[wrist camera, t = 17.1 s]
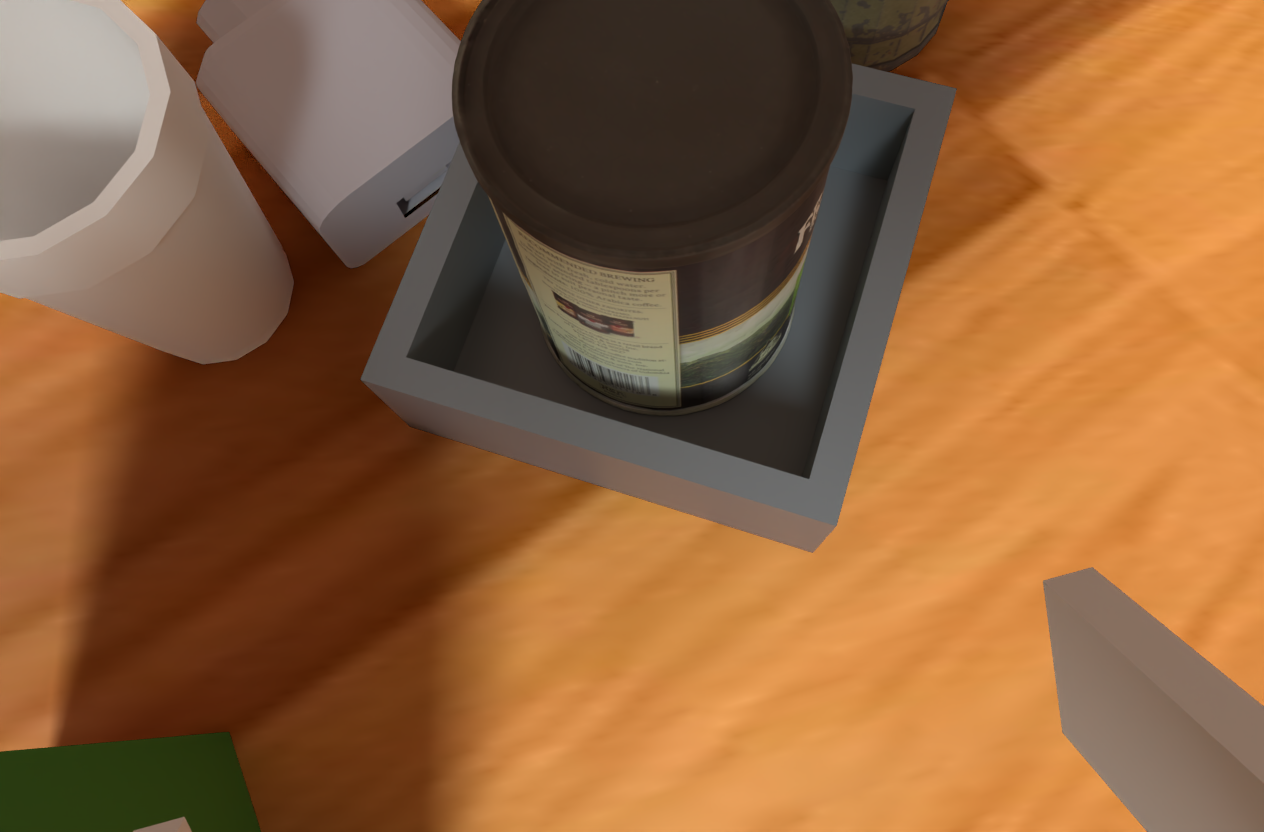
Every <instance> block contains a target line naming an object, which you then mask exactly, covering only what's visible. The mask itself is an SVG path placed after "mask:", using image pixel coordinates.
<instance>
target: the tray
mask: <svg viewBox="0 0 1264 832" xmlns="http://www.w3.org/2000/svg"><path fill="white" fill-rule="evenodd" d="M852 73H853V83H852V101H851V107H850V113H849V117H848V121H847V124H846V128H845V131H844V134H843V137H842V140H841V143H840V145H839V148H838V150H837V152H836V154H835V157H834V159H833V161H832V163H831V164H830V168H829V172H828V176H827V180H826V183H825V188H824V192H823V196H822V199H821V203H820V207H819V211H818V215H817V219H816V223H815V225H814V229H813V232H812V236H811V240H810V244H809V248H808V252H807V256H806V259H805V263H804V267H803V271H802V275H801V279H800V284H799V288H798V291H797V296H796V301H795V310H794V316H793V320H792V324H791V328H790V331H789V333H788V336H787V338H786V341H785V343H784V345H783V347H782V349H781V351H780V352H779V354H778V355H777V357H776V359H775V361H774V362H773V363H772V364H771V366H770V367H769V368H768V369H767V371H766V372H765V373H764V374H763V375H762V376H761V377H759V378H758V379H757V380H756V381H755V382H754V383H753V384H752V385H751V386H749V387H748V388H747V389H745V390H744V391H742V392H741V393H739V394H738V395H736V396H735V397H733V398H731V399H730V400H728V401H726V402H724V403H721V404H719V405H717V406H714V407H711V408H709V409H706V410H703V411H698V412H693V413H689V414H685V415H679V416H657V415H647V414H639V413H635V412H631V411H627V410H623V409H620V408H618V407H615V406H612V405H610V404H608V403H606V402H603V401H601V400H600V399H598V398H596V397H594V396H593V395H591V394H589V393H588V392H586V391H585V390H583V389H581V388H580V387H579V386H578V385H577V384H576V383H575V382H574V381H573V380H572V379H571V378H570V377H569V376H568V375H567V374H566V373H565V372H564V371H563V369H562V368H561V367H560V365H559V364H558V363H557V362H556V360H555V358H554V357H553V355H552V353H551V352H550V350H549V348H548V346H547V344H546V341H545V338H544V336H543V333H542V330H541V327H540V321H539V318H538V315H537V313H536V310H535V308H534V306H533V303H532V301H531V298H530V296H529V294H528V291H527V289H526V286H525V284H524V282H523V280H522V278H521V276H520V273H519V270H518V268H517V265H516V263H515V260H514V258H513V255H512V253H511V251H510V248H509V246H508V243H507V241H506V238H505V236H504V233H503V231H502V229H501V226H500V224H499V221H498V219H497V217H496V214H495V212H494V209H493V207H492V204H491V202H490V199H489V197H488V195H487V194H486V192H485V191H484V190H483V188H482V187H481V185H480V184H479V182H478V181H477V179H476V177H475V175H474V173H473V171H472V169H471V167H470V165H469V163H468V161H467V158H466V156H465V154H464V151H463V149H462V146H461V143H460V142H459V144H458V147H457V149H456V152H455V154H454V156H453V159H452V161H451V164H450V166H449V168H448V171H447V173H446V175H445V178H444V180H443V183H442V185H441V187H440V190H439V192H438V195H437V197H436V199H435V202H434V204H433V207H432V209H431V211H430V214H429V216H428V219H427V221H426V223H425V226H424V228H423V230H422V233H421V235H420V238H419V240H418V242H417V245H416V247H415V250H414V252H413V254H412V257H411V259H410V262H409V264H408V266H407V269H406V271H405V274H404V276H403V278H402V281H401V283H400V286H399V288H398V290H397V293H396V295H395V297H394V300H393V302H392V305H391V307H390V309H389V312H388V314H387V317H386V319H385V321H384V324H383V326H382V329H381V331H380V333H379V336H378V338H377V341H376V343H375V345H374V348H373V350H372V352H371V355H370V357H369V360H368V362H367V364H366V367H365V369H364V372H363V374H362V376H361V379H360V380H361V381H362V382H363V383H364V384H365V385H366V386H367V387H369V388H370V389H371V390H372V391H373V392H374V393H375V394H376V395H377V396H378V397H379V398H380V399H381V400H382V401H383V402H384V403H385V404H387V405H388V406H389V407H390V408H391V409H392V410H393V411H394V412H395V413H396V414H397V415H398V416H399V417H400V418H401V419H402V420H403V421H404V422H406V423H407V424H408V425H409V426H410V427H413V428H416V429H419V430H423V431H426V432H429V433H432V434H435V435H439V436H442V437H445V438H448V439H451V440H455V441H458V442H461V443H464V444H467V445H471V446H474V447H477V448H480V449H483V450H487V451H490V452H493V453H496V454H499V455H502V456H506V457H509V458H512V459H515V460H518V461H522V462H525V463H528V464H531V465H534V466H538V467H541V468H544V469H547V470H550V471H554V472H557V473H560V474H563V475H566V476H570V477H573V478H576V479H579V480H582V481H586V482H589V483H592V484H595V485H598V486H602V487H605V488H608V489H611V490H614V491H617V492H621V493H624V494H627V495H630V496H633V497H637V498H640V499H643V500H646V501H649V502H653V503H656V504H659V505H662V506H665V507H669V508H672V509H675V510H678V511H681V512H685V513H688V514H691V515H694V516H697V517H701V518H704V519H707V520H710V521H713V522H717V523H720V524H723V525H726V526H729V527H732V528H736V529H739V530H742V531H745V532H748V533H752V534H755V535H758V536H761V537H764V538H768V539H771V540H774V541H777V542H780V543H784V544H787V545H790V546H793V547H796V548H800V549H803V550H806V551H809V552H812V553H813V552H814V551H815V550H816V549H817V547H818V546H819V545H820V544H821V543H822V542H823V541H824V540H825V538H826V537H827V536H828V535H829V534H830V533H831V532H832V531H833V529H834V528H835V527H836V526H837V522H838V518H839V515H840V511H841V507H842V504H843V500H844V497H845V493H846V489H847V486H848V482H849V478H850V475H851V471H852V467H853V464H854V460H855V457H856V453H857V449H858V446H859V442H860V438H861V435H862V431H863V427H864V424H865V420H866V417H867V413H868V409H869V406H870V402H871V398H872V395H873V391H874V388H875V384H876V380H877V377H878V373H879V369H880V366H881V362H882V358H883V355H884V351H885V348H886V344H887V340H888V337H889V333H890V329H891V326H892V322H893V318H894V315H895V311H896V308H897V304H898V300H899V297H900V293H901V289H902V286H903V282H904V279H905V275H906V271H907V268H908V264H909V260H910V257H911V253H912V249H913V246H914V242H915V239H916V235H917V231H918V228H919V224H920V220H921V217H922V213H923V210H924V206H925V202H926V199H927V195H928V191H929V188H930V184H931V180H932V177H933V173H934V170H935V166H936V162H937V159H938V155H939V151H940V148H941V144H942V140H943V137H944V133H945V130H946V126H947V122H948V119H949V115H950V111H951V108H952V104H953V101H954V97H955V93H956V90H957V89H956V88H952V87H948V86H944V85H940V84H936V83H931V82H927V81H923V80H919V79H915V78H911V77H906V76H902V75H898V74H894V73H890V72H886V71H881V70H877V69H873V68H869V67H865V66H861V65H856V64H852Z"/></svg>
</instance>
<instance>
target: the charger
mask: <svg viewBox="0 0 1264 832" xmlns="http://www.w3.org/2000/svg"><path fill="white" fill-rule="evenodd" d="M197 24H198V25H199V27H200V28H201V29H202V30H203V31H204V32H205V34H206V35H207V36H208V37H209V38H210V39H211V41H212V42H213V44H212V45H211V46H210V47H209V48H208V49H207V50H206V52H205V54H204V57H203V60H202V64H201V67H200V70H199V73H198V77H197V80H196V85H197V88H198V89H199V90H200V91H201V93H202V94H203V95H204V96H205V98H206V99H207V100H208V101H209V102H210V104H211V105H212V106H213V107H214V109H215V110H216V111H217V112H218V114H219V115H220V116H221V117H222V118H223V120H224V121H225V122H226V123H227V125H228V126H229V127H230V128H231V130H232V131H233V132H234V133H235V134H236V136H237V137H238V138H239V139H240V140H241V141H242V143H243V144H244V145H245V146H246V147H247V149H248V150H249V151H250V152H251V153H252V155H253V156H254V157H255V158H256V159H257V160H258V162H259V163H260V164H261V165H262V166H263V168H264V169H265V170H266V171H267V172H268V174H269V175H270V176H271V177H272V178H273V180H274V181H275V182H276V183H277V184H278V185H279V187H280V188H281V189H282V190H283V191H284V193H285V194H286V195H287V196H288V197H289V199H290V200H291V201H292V202H293V203H294V205H295V206H296V207H297V208H298V209H299V210H300V212H301V213H302V214H303V215H304V216H305V218H306V219H307V220H308V221H309V222H310V224H311V225H312V226H313V227H314V228H315V230H316V231H317V232H318V233H319V234H320V235H321V237H322V238H323V239H324V240H325V241H326V243H327V244H328V245H329V246H330V247H331V249H332V250H333V251H334V252H335V253H336V254H337V256H338V257H339V258H340V259H341V260H342V262H343V263H344V264H345V265H346V266H347V267H349V268H355V267H359V266H361V265H364V264H365V263H366V262H368V261H369V260H370V259H372V258H373V257H374V256H376V255H377V254H378V253H380V252H381V251H382V250H384V249H385V248H386V247H388V246H389V245H390V244H391V243H393V242H394V241H395V240H397V239H398V238H399V237H401V236H402V235H403V234H404V233H406V232H407V231H408V230H410V229H411V228H412V227H414V226H415V225H416V224H417V223H419V222H420V221H421V220H423V219H424V218H425V217H427V216H428V215H429V214H430V211H431V209H432V207H433V204H434V202H435V199H436V197H437V195H438V194H436V195H435V196H434V197H432V198H431V199H430V200H428V201H427V202H426V203H425V204H423V205H422V206H421V207H419V208H418V209H417V210H415V211H414V212H413V213H412V214H410V215H409V216H408V217H406V218H405V217H404V215H405V214H406V213H407V212H408V211H410V210H411V209H412V208H414V207H415V206H416V205H418V204H419V203H420V202H422V201H423V200H424V199H425V198H427V197H428V196H429V195H431V194H432V193H433V192H435V191H436V190H437V189H439V188H440V187H441V185H442V183H443V180H444V178H445V175H446V173H447V171H448V168H449V166H450V164H451V161H452V159H453V156H454V154H455V152H456V149H457V147H458V144H459V142H460V141H459V138H458V135H457V132H456V128H455V124H454V118H453V111H452V79H453V73H454V64H455V60H456V57H457V53H458V49H459V45H460V43H461V41H460V40H459V39H458V38H457V37H456V36H455V35H454V34H453V33H452V32H451V31H450V30H449V29H448V28H447V27H446V25H445V24H444V23H443V22H442V21H441V20H440V19H439V18H438V17H437V16H436V15H435V14H434V13H433V12H432V11H431V10H430V9H429V8H428V7H427V6H426V5H425V4H424V3H423V2H422V1H421V0H206V1H205V2H204V4H203V5H202V7H201V9H200V10H199V12H198V17H197Z"/></svg>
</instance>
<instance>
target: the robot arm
mask: <svg viewBox="0 0 1264 832" xmlns="http://www.w3.org/2000/svg"><path fill="white" fill-rule="evenodd" d="M1043 585H1044V593H1045V601H1046V608H1047V616H1048V624H1049V632H1050V639H1051V647H1052V655H1053V663H1054V670H1055V678H1056V686H1057V694H1058V701H1059V709H1060V717H1061V724H1062V732H1063V734H1064V735H1065V736H1066V737H1067V738H1068V739H1069V741H1070V742H1071V743H1072V744H1073V745H1074V747H1075V748H1076V749H1077V750H1078V751H1079V752H1080V754H1081V755H1082V756H1083V757H1084V758H1085V759H1086V761H1087V762H1088V763H1089V764H1090V765H1091V766H1092V768H1093V769H1094V770H1095V771H1096V772H1097V773H1098V775H1099V776H1100V777H1101V778H1102V779H1103V780H1104V782H1105V783H1106V784H1107V785H1108V786H1109V788H1110V789H1111V790H1112V791H1113V792H1114V793H1115V795H1116V796H1117V797H1118V798H1119V799H1120V800H1121V802H1122V803H1123V804H1124V805H1125V806H1126V807H1127V809H1128V810H1129V811H1130V812H1131V813H1132V814H1133V816H1134V817H1135V818H1136V819H1137V820H1138V821H1139V823H1140V824H1141V825H1142V826H1143V827H1144V828H1145V830H1146V831H1147V832H1264V706H1263V705H1261V704H1260V703H1259V702H1258V701H1256V700H1255V699H1254V698H1253V697H1252V696H1250V695H1249V694H1248V693H1247V692H1245V691H1244V690H1243V689H1242V688H1240V687H1239V686H1238V685H1237V684H1236V683H1234V682H1233V681H1232V680H1231V679H1229V678H1228V677H1227V676H1226V675H1224V674H1223V673H1222V672H1221V671H1220V670H1218V669H1217V668H1216V667H1215V666H1213V665H1212V664H1211V663H1210V662H1208V661H1207V660H1206V659H1205V658H1203V657H1202V656H1201V655H1200V654H1199V653H1197V652H1196V651H1195V650H1194V649H1192V648H1191V647H1190V646H1189V645H1187V644H1186V643H1185V642H1184V641H1183V640H1181V639H1180V638H1179V637H1178V636H1176V635H1175V634H1174V633H1173V632H1171V631H1170V630H1169V629H1168V628H1167V627H1165V626H1164V625H1163V624H1162V623H1160V622H1159V621H1158V620H1157V619H1155V618H1154V617H1153V616H1152V615H1151V614H1149V613H1148V612H1147V611H1146V610H1144V609H1143V608H1142V607H1141V606H1139V605H1138V604H1137V603H1136V602H1134V601H1133V600H1132V599H1131V598H1130V597H1128V596H1127V595H1126V594H1125V593H1123V592H1122V591H1121V590H1120V589H1118V588H1117V587H1116V586H1115V585H1114V584H1112V583H1111V582H1110V581H1109V580H1107V579H1106V578H1105V577H1104V576H1102V575H1101V574H1100V573H1099V572H1098V571H1096V570H1095V569H1094V568H1093V567H1091V568H1088V569H1084V570H1080V571H1077V572H1073V573H1070V574H1066V575H1062V576H1059V577H1055V578H1051V579H1048V580H1044V581H1043ZM133 832H192V831H191V829H190V827H189V825H188V823H187V821H186V819H185V817H182V818H178V819H174V820H171V821H167V822H163V823H160V824H156V825H152V826H149V827H145V828H141V829H138V830H134V831H133Z"/></svg>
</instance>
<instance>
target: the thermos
mask: <svg viewBox="0 0 1264 832" xmlns="http://www.w3.org/2000/svg"><path fill="white" fill-rule="evenodd" d="M830 1H831V3H832V5H833V6H834V8H835V10H836V12H837V14H838V16H839V18H840V20H841V22H842V24H843V27H844V31H845V35H846V38H847V41H848V44H849V49H850V56H851V62H852V64H856V65H861V66H865V67H869V68H873V69H877V70H881V71H890V70H893V69H894V68H896V67H898V66H899V65H901V64H903V63H904V62H906V61H908V60H909V59H911V58H913V57H914V56H916V55H918V53H919V52H920V51H921V50H922V49H923V48H924V46H925V45H926V44H927V43H928V42H929V41H930V39H931V38H932V37H933V36H934V35H935V34H936V31H937V29H938V26H939V23H940V21H941V18H942V15H943V12H944V10H945V7H946V4H947V2H948V1H949V0H830Z"/></svg>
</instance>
